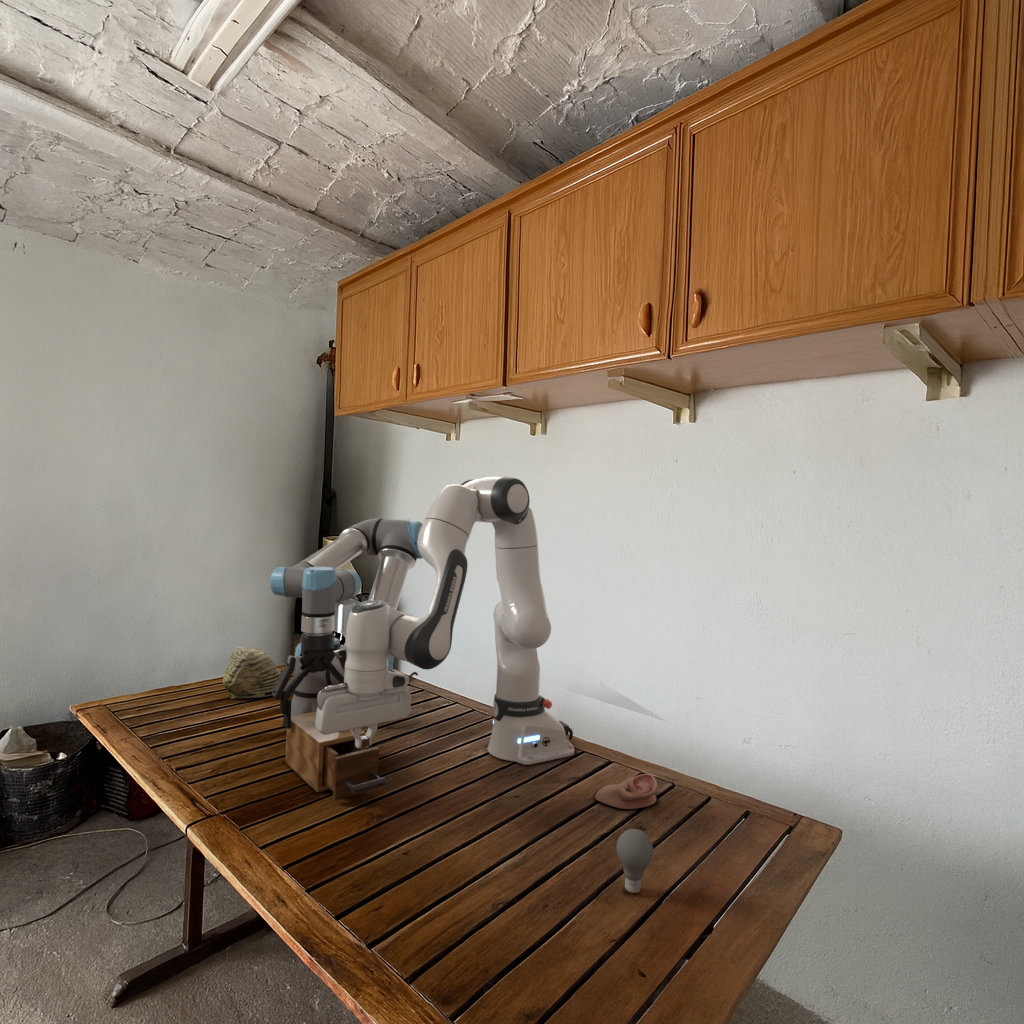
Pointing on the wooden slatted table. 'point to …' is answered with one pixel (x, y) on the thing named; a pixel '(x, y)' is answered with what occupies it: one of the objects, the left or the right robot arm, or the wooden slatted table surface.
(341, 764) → the drawer
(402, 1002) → the wooden slatted table surface
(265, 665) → the fossil
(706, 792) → the wooden slatted table surface
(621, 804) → the anatomical model
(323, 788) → the cabinet
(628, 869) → the light bulb
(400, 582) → the left robot arm
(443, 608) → the right robot arm
